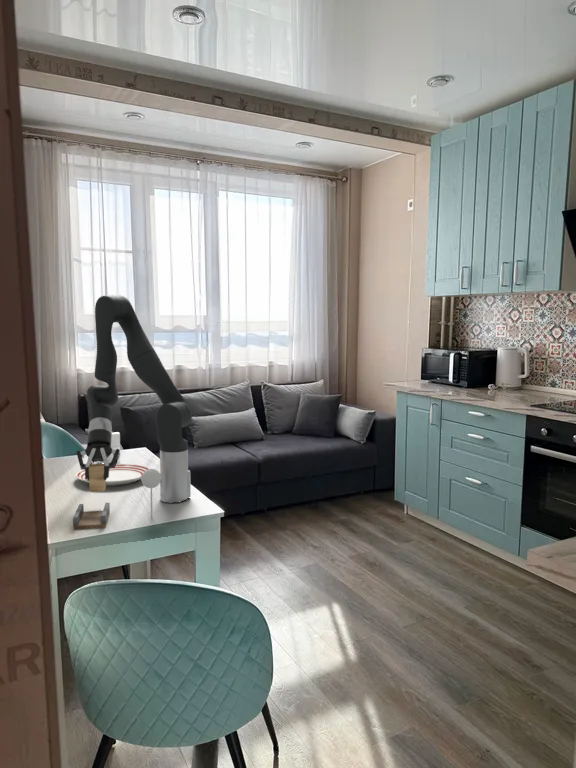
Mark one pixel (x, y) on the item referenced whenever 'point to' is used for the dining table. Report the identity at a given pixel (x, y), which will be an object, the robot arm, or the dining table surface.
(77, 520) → the walnut track
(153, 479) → the lollipop
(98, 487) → the oak block
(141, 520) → the dining table surface
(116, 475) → the dinner plate
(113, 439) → the base with upright slab
